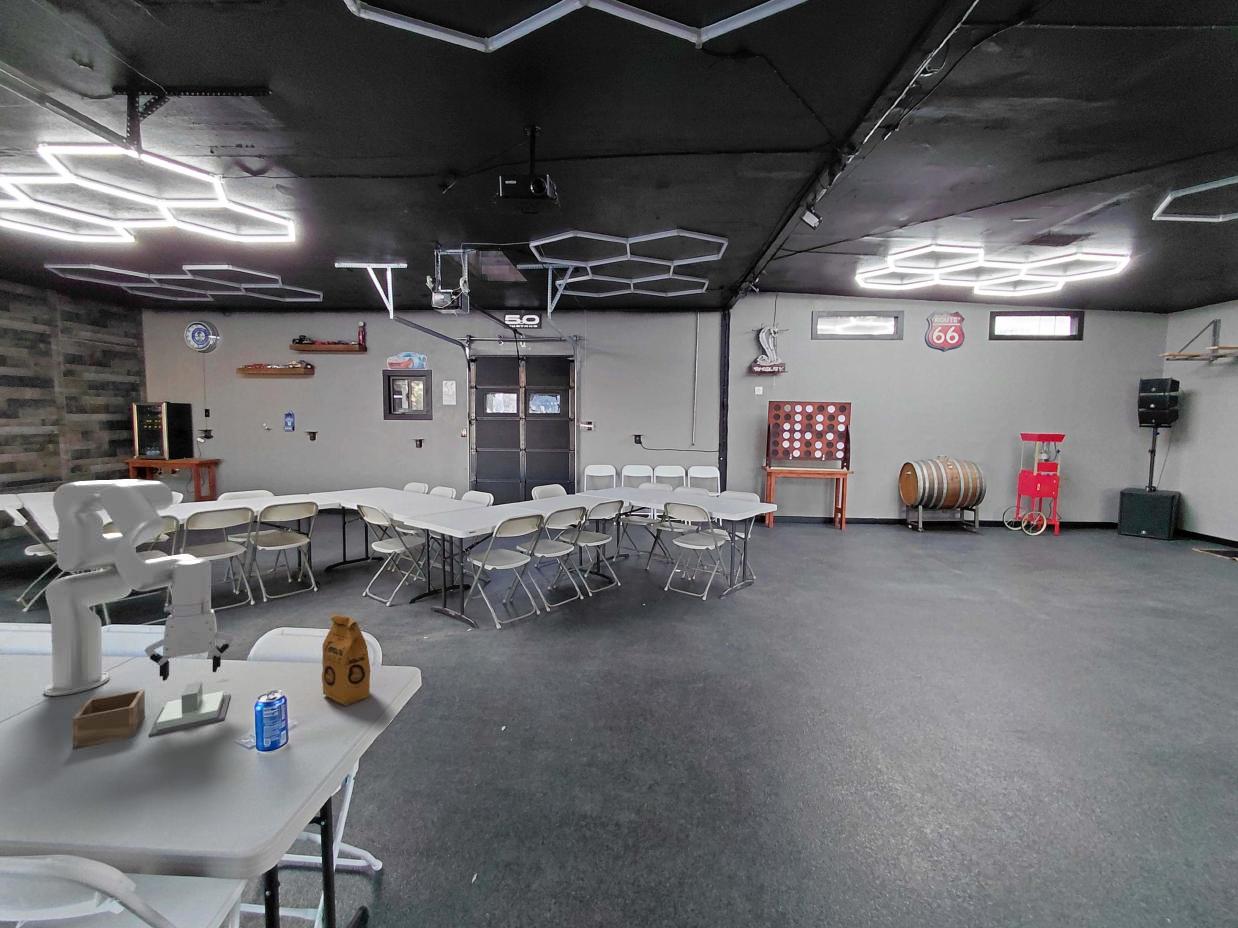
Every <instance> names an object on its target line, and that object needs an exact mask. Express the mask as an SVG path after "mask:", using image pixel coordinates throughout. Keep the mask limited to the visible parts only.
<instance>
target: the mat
mask: <svg viewBox="0 0 1238 928" xmlns="http://www.w3.org/2000/svg"><path fill="white" fill-rule="evenodd" d="M230 701H231V694H230V693H229V694H224V699H223V702H222V705H221V708H220V711H219V714H218V717H215V718H210V719H206V720H201V721H196V722H192V723H187V724H182V725H177V726H173V727H168V728H163V729H159V730H157V721H158V719H159V717H160V715H161V714H162V712H163V710H164V708H165V706H164V707H162V708H161V710H160V712H159V714H158V715H157V718H156V719H155V721H154V724H153V725H152V727H151V729H150V731H149V733H148V737H153V736H159V735H163V734H166V733H167V734H168V733H171V732H177V731H181V730H185V729H189V728H194V727H199V726H204V725H208V724H212V723H217V722H222V721H224V720H225V718H226V714H227V712H228V711H227V710H228V707H229V703H230Z"/></svg>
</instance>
